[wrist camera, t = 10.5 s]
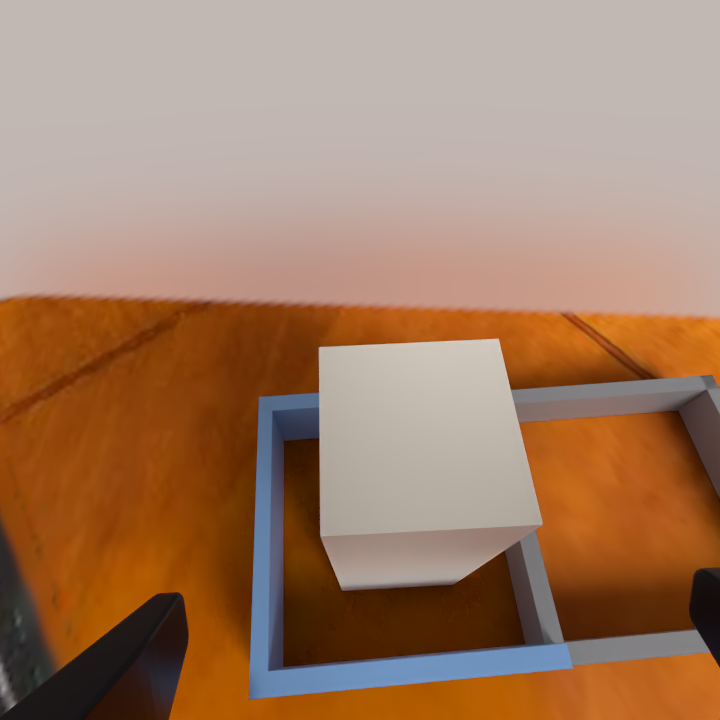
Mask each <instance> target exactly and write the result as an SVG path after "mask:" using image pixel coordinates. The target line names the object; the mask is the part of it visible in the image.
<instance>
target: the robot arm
mask: <svg viewBox="0 0 720 720" xmlns="http://www.w3.org/2000/svg"><path fill="white" fill-rule="evenodd" d="M689 614H690V617H691V620H692V622H693V624H694V626H695V628H696V629H697V631H698V633H699V634H700V636H701V638H702V639H703V641H704V643H705V644H706V646H707V647H708V649H709V651H710V652H711V654H712V656H713V657H714V659H715V661H716V662H717V664H718V666H719V667H720V568H701V569H698V570H697V571H696V572H695V573H694V576H693V583H692V589H691V596H690V603H689ZM188 637H189V633H188V625H187V618H186V611H185V604H184V598H183V596H182V594H180V593H178V592H174V593H159V594H156V595H155V596H153V597H152V598H151V599H149V600H148V601H147V602H146V603H144V604H143V605H142V606H140V607H139V608H138V609H137V610H135V611H134V612H133V613H132V614H130V615H129V616H128V617H127V618H125V619H124V620H123V621H121V622H120V623H119V624H118V625H116V626H115V627H114V628H113V629H111V630H110V631H109V632H108V633H106V634H105V635H104V636H102V637H101V638H100V639H99V640H97V641H96V642H95V643H94V644H92V645H91V646H90V647H89V648H87V649H86V650H85V651H83V652H82V653H81V654H80V655H78V656H77V657H76V658H75V659H73V660H72V661H71V662H70V663H68V664H67V665H66V666H64V667H63V668H62V669H61V670H59V671H58V672H57V673H56V674H54V675H53V676H52V677H50V678H49V679H48V680H47V681H45V682H44V683H43V684H42V685H40V686H39V687H38V688H37V689H35V690H34V691H33V692H31V693H30V694H29V695H28V696H26V697H25V698H24V699H23V700H21V701H20V702H19V703H18V704H16V705H15V706H14V707H12V708H11V709H10V710H9V711H7V712H6V713H5V714H4V715H2V716H1V717H0V720H169V716H170V712H171V708H172V704H173V701H174V697H175V693H176V689H177V685H178V681H179V677H180V673H181V670H182V666H183V662H184V658H185V654H186V650H187V646H188Z"/></svg>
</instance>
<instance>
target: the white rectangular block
mask: <svg viewBox="0 0 720 720" xmlns="http://www.w3.org/2000/svg"><path fill="white" fill-rule="evenodd" d="M319 433H320V537H321V540H322V542H323V545H324V547H325V550H326V552H327V555H328V557H329V560H330V562H331V565H332V567H333V569H334V572H335V574H336V577H337V579H338V582H339V584H340V587H341V589H342V591H351V590H369V589H386V588H404V587H422V586H440V585H454V584H455V583H457V582H458V581H460V580H461V579H463V578H464V577H466V576H467V575H469V574H470V573H472V572H473V571H475V570H476V569H478V568H479V567H481V566H482V565H483V564H485V563H486V562H488V561H489V560H491V559H492V558H494V557H495V556H497V555H498V554H500V553H501V552H503V551H504V550H506V549H507V548H509V547H510V546H512V545H513V544H515V543H516V542H518V541H519V540H521V539H522V538H524V537H525V536H527V535H528V534H530V533H531V532H533V531H534V530H536V529H537V528H539V527H540V526H542V525H543V522H542V518H541V514H540V510H539V506H538V501H537V497H536V493H535V489H534V485H533V481H532V476H531V472H530V468H529V464H528V460H527V456H526V451H525V447H524V443H523V439H522V435H521V430H520V426H519V422H518V418H517V414H516V410H515V405H514V401H513V397H512V393H511V389H510V385H509V380H508V376H507V372H506V368H505V364H504V360H503V355H502V351H501V347H500V343H499V339H485V340H463V341H442V342H420V343H398V344H377V345H355V346H333V347H319Z"/></svg>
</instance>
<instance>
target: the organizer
mask: <svg viewBox="0 0 720 720" xmlns="http://www.w3.org/2000/svg"><path fill="white" fill-rule="evenodd" d="M511 393H512V397H513V401H514V405H515V410H516V414H517V418H518V422H519V423H523V422H536V421H548V420H561V419H574V418H587V417H600V416H613V415H626V414H639V413H652V412H665V411H679V413H680V415H681V417H682V420H683V422H684V424H685V426H686V428H687V430H688V432H689V435H690V437H691V439H692V441H693V443H694V445H695V447H696V450H697V452H698V454H699V456H700V458H701V460H702V463H703V465H704V467H705V469H706V471H707V473H708V475H709V478H710V480H711V482H712V484H713V486H714V488H715V490H716V493H717V495H718V497H719V499H720V389H719V387H718V385H717V383H716V381H715V379H714V377H713V375H706V376H692V377H679V378H666V379H652V380H639V381H626V382H612V383H599V384H585V385H572V386H559V387H545V388H532V389H518V390H511ZM315 438H320V433H319V393H307V394H294V395H280V396H267V397H259V411H258V441H257V471H256V501H255V531H254V561H253V591H252V621H251V651H250V681H249V699H258V698H269V697H279V696H289V695H300V694H310V693H321V692H331V691H342V690H352V689H362V688H373V687H383V686H394V685H404V684H414V683H425V682H435V681H446V680H456V679H467V678H477V677H487V676H498V675H508V674H519V673H529V672H540V671H550V670H560V669H571V668H573V666H574V665H585V664H595V663H606V662H616V661H627V660H637V659H647V658H658V657H668V656H679V655H689V654H700V653H710V651H709V649H708V647H707V646H706V644H705V643H704V641H703V639H702V638H701V636H700V634H699V633H698V631H697V629H696V628H694V629H684V630H673V631H662V632H652V633H641V634H630V635H620V636H609V637H598V638H588V639H577V640H566V641H564V639H563V636H562V632H561V628H560V624H559V620H558V616H557V612H556V609H555V605H554V601H553V597H552V593H551V589H550V585H549V581H548V578H547V574H546V570H545V566H544V562H543V558H542V554H541V550H540V547H539V543H538V539H537V535H536V531H535V530H534V531H533V532H531V533H530V534H528V535H527V536H525V537H524V538H522V539H521V540H519V541H518V542H516V543H515V544H513V545H512V546H510V547H509V548H507V549H506V550H505V554H506V558H507V563H508V567H509V572H510V576H511V581H512V585H513V590H514V594H515V599H516V603H517V608H518V612H519V617H520V621H521V626H522V630H523V635H524V639H525V644H524V645H513V646H502V647H492V648H481V649H470V650H460V651H449V652H438V653H428V654H417V655H406V656H396V657H385V658H374V659H364V660H353V661H342V662H332V663H321V664H311V665H300V666H289V667H283V618H284V441H289V440H302V439H315Z"/></svg>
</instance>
